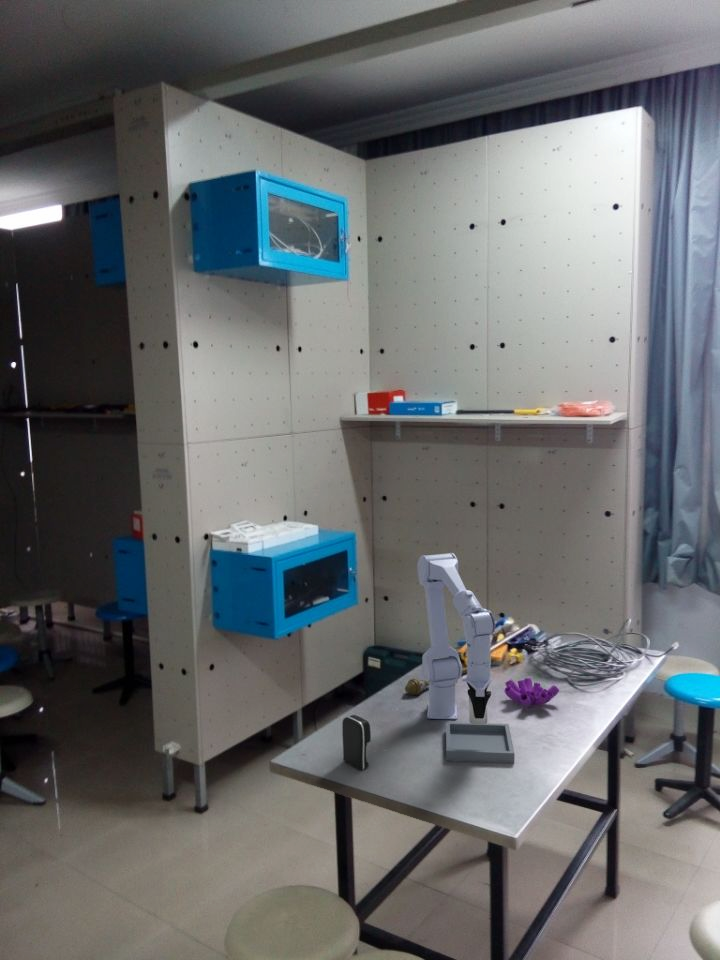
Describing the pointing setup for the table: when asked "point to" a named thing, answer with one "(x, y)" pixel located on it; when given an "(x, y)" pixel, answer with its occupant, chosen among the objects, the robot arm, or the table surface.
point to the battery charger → (355, 741)
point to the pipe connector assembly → (529, 692)
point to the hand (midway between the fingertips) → (478, 713)
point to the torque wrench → (420, 685)
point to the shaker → (472, 718)
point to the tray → (479, 743)
